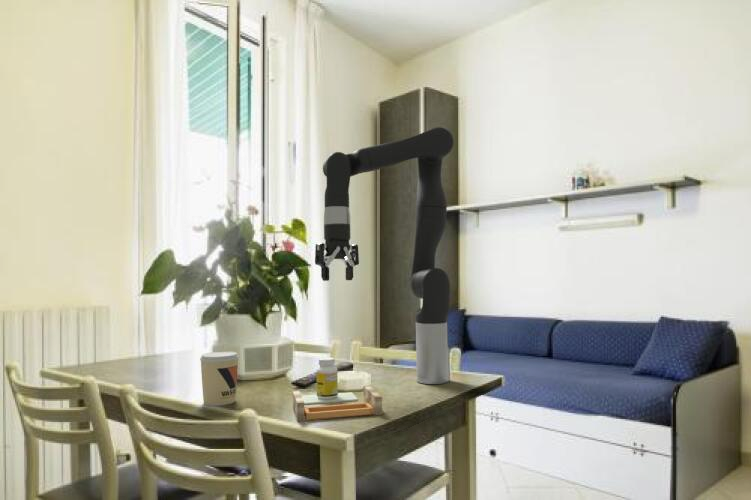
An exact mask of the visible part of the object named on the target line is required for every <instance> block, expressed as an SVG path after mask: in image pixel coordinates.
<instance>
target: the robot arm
mask: <svg viewBox="0 0 751 500" xmlns="http://www.w3.org/2000/svg"><path fill="white" fill-rule="evenodd" d="M454 142H455V141H454V136H453V134H452V133H451V131H449V129H446V128H444V127H438V126H435V127H432V128H430V129H428V130H426V131H423V132H421V133H419V134H417V135H414V136H410V137H407V138H403V139H400V140H399V139H398V140H395V141H391V142H386V143H381V144H377V145H371V146H367V147H361V148H359V149H357V150H355V151H353V152H350V153H347V154H345V153H344V152H341V151H336V152H335V151H334V152H332V153H331V154H329V156H328V157H327V158H326V159H325V160H324V162H323V164H322V172H323V175H324V176H325V177H326V188H325V190H324V212H323V239H324V241H325V243H324V242H319V243H316V244H315V253H314V255H315V256H314V264H315V266H320V268H321V269H320V272H321V275H320V276H321V277H320V278H321V279H322V281H324V282H327V281H330V267H329V266H330V265H331V263H332V262H333V261H334V260H341V262H343V263H344V264H345V265H344V266H345V281H352V280H353V279H354V267H355V266H359V264H360V258H359V245H358V244H350V240H351V212H350V193H349V191H350V190H349V189H350V184H351V182H350V181H351V177H354V176H356V175H359V174H363V173H369V172H370V173H371V172H374V171H378V170H383V169H386V168H389V167H391V166H394V165H397V164H400V163H402V162H406V161H411V160H413V159H417V173H418V174H417V175H418V177H417V189H416V205H415V231H414V233H415V234H414V250H413V259H412V265H411V271H410V272H411V273H410V283H409V284H410V289H411V292H412V294H413V295H414V296H415V297H416V298H418V299H422V306H421V308H420V309H419V311H417V312H416V313H415V345H416V346H415V351H416V355H415V357H416V361H415V363H416V382H417V383H421V384H423V385H424V384H427V385H440V384H441V385H442V384H446V383H448V382H449V381H450V380H451V359H450V357H451V356H450V354H451V352H450V351H451V350H450V348H449V347H448V346H449V345H448V315H449V313H450V305H451V303H450V300H451V284H450V283H451V282H450V278H449V276H448V275H449V274H447V272H446V271H445V270H444V269H442V268H439V267H435V264H436V262H435V261H436V253H437V250H438V247H439V244H440V241H441V240H442V237H443V234H444V232H445V229H446V225H447V212H448V211H447V209H448V207H447V198H446V195H445V191H444V186H443V183H442V164H443V159H444V158H445V157H446V156H447V155H449V153H450V152H452V149H453V147H454Z"/></svg>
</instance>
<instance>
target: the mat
mask: <svg viewBox="0 0 751 500" xmlns="http://www.w3.org/2000/svg"><path fill="white" fill-rule="evenodd" d="M301 396H302V399H303V401H304V406H306V405H318V404H320V405H321V404H331V403H345V402H358V401H359V399H358V397H357V396H356V395H355V394H354V393H353V392H352V391H351V392H338V396H337V397H336V398H333V399H320V398H318V397H317V394H309V395H308V394H307V395H301Z"/></svg>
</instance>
